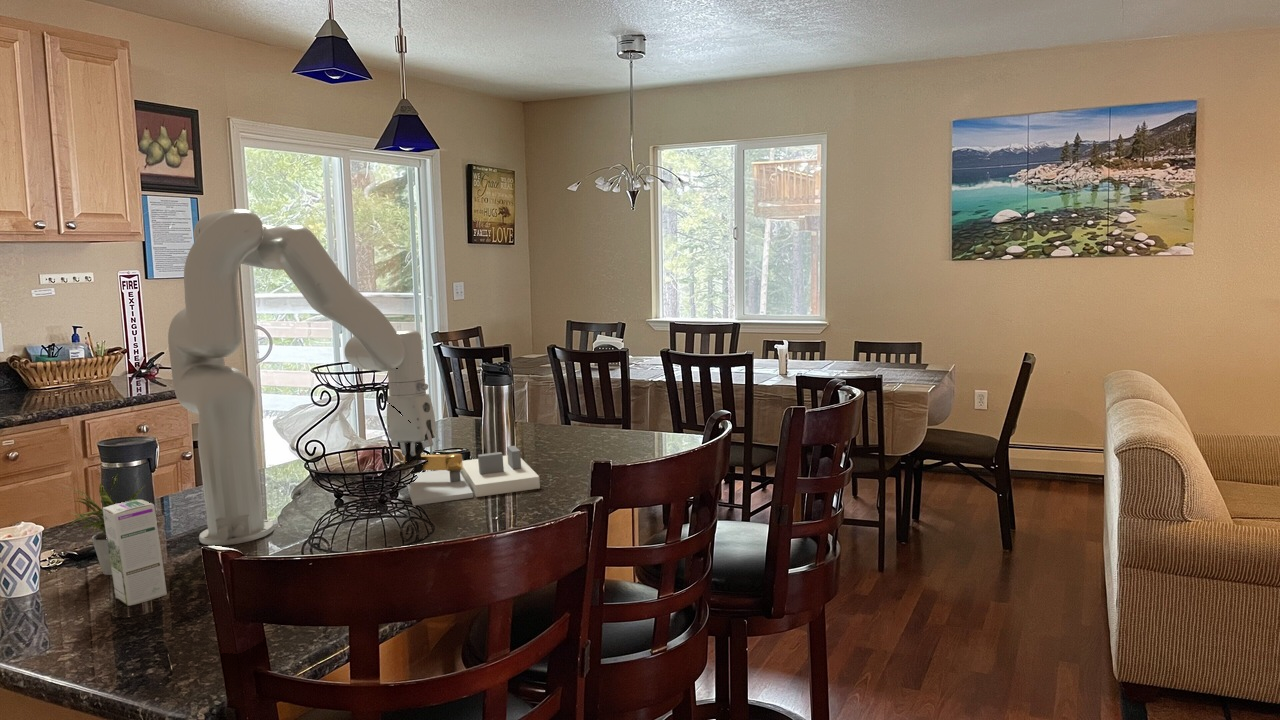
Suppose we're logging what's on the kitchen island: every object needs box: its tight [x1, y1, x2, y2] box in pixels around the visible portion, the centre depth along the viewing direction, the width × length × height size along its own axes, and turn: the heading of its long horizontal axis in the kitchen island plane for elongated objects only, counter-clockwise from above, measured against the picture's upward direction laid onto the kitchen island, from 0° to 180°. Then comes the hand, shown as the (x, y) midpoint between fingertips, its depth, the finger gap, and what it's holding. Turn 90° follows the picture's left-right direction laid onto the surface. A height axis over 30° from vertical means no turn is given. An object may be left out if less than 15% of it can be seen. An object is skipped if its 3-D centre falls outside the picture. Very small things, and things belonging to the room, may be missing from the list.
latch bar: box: [403, 453, 463, 471], centre depth 192 cm, size 13×4×3 cm, turn 80°
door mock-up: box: [406, 445, 541, 506], centre depth 192 cm, size 24×26×6 cm
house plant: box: [63, 473, 149, 576], centre depth 147 cm, size 14×14×16 cm
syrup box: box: [102, 498, 168, 606], centre depth 134 cm, size 6×6×14 cm
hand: (414, 472), depth 190 cm, fingers closed
